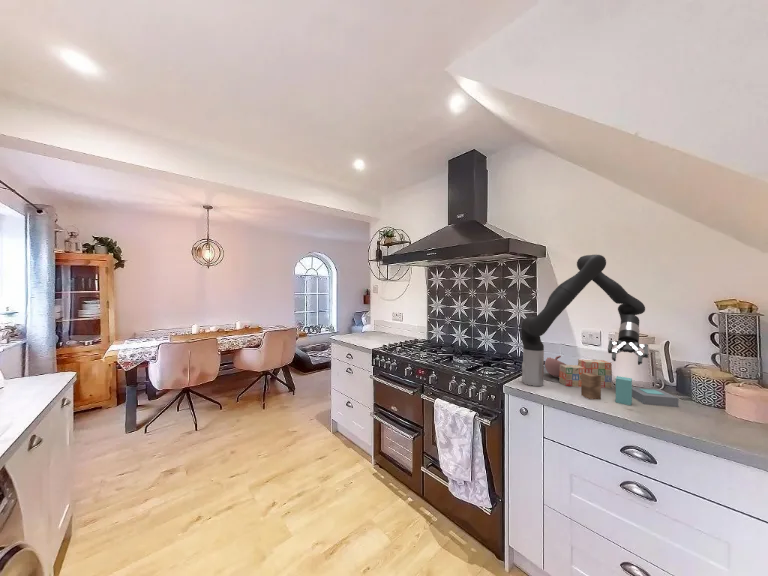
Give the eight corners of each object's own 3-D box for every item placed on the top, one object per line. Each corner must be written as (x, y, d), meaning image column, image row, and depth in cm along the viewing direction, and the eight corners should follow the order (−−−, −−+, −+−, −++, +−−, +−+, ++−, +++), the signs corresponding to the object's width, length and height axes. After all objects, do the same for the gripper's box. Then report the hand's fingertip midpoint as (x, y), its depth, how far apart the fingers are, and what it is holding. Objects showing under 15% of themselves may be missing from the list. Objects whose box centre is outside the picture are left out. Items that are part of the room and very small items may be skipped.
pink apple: (575, 379, 156) (576, 357, 157) (557, 380, 153) (557, 358, 153) (557, 373, 168) (557, 353, 168) (539, 374, 165) (539, 353, 165)
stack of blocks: (565, 386, 145) (565, 361, 145) (559, 382, 151) (559, 358, 151) (611, 388, 143) (612, 362, 143) (603, 384, 149) (603, 359, 149)
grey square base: (643, 404, 122) (643, 394, 122) (627, 395, 134) (627, 385, 134) (678, 408, 119) (678, 397, 120) (658, 397, 131) (658, 388, 131)
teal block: (615, 402, 124) (615, 378, 124) (617, 399, 128) (617, 376, 128) (631, 405, 120) (631, 380, 121) (632, 402, 124) (632, 378, 124)
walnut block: (589, 399, 127) (589, 376, 127) (581, 395, 132) (581, 372, 132) (600, 399, 127) (600, 376, 127) (592, 395, 132) (592, 372, 132)
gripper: (609, 327, 144) (605, 354, 136) (648, 330, 134) (647, 359, 126) (610, 337, 148) (607, 364, 139) (649, 340, 138) (648, 369, 129)
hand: (626, 361), depth 132 cm, fingers open, 8 cm apart
